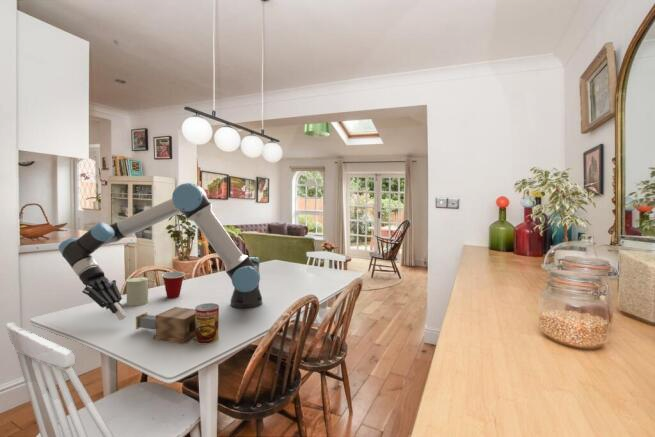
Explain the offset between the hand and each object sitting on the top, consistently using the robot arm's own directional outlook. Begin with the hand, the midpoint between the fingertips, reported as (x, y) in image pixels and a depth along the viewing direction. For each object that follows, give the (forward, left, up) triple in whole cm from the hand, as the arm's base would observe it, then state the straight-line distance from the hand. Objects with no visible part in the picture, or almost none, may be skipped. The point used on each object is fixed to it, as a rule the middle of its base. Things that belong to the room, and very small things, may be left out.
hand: (123, 317), depth 122 cm
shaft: (-13, +13, -3) cm, 19 cm away
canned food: (-26, +26, -4) cm, 37 cm away
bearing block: (-18, +18, -4) cm, 26 cm away
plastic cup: (-21, -36, -4) cm, 42 cm away
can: (-5, -32, -4) cm, 33 cm away
